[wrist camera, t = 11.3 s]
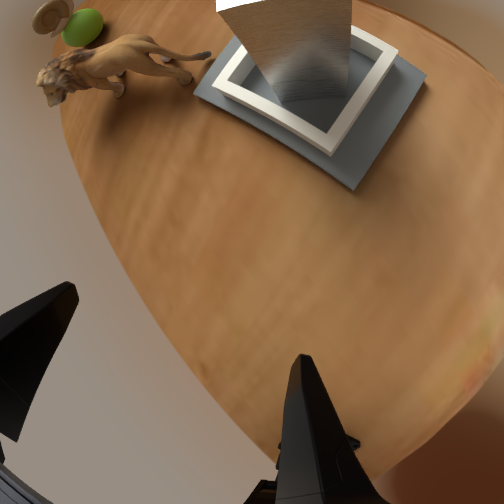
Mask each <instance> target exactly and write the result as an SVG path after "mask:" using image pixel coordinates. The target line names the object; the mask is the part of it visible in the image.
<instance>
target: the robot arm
mask: <svg viewBox="0 0 504 504" xmlns="http://www.w3.org/2000/svg"><path fill="white" fill-rule="evenodd" d="M78 302H79V296H78V293H77V290H76V287H75V285H74V284H73V283H70V282H68V281H66V282H63V283H61V284H59V285H57V286H56V287H53V288H51V289H49V290H47V291H45V292H43V293H42V294H40V295H38V296H36V297H34V298H32V299H30V300H28V301H26V302H24V303H22V304H21V305H19V306H17V307H15V308H13V309H11V310H9V311H8V312H6V313H4V314H2V315H1V316H0V433H2V434H3V435H5V436H6V437H8V438H10V439H11V440H13V441H15V442H17V441H18V439H19V436H20V432H21V430H22V427H23V424H24V421H25V419H26V416H27V413H28V411H29V408H30V406H31V403H32V401H33V398H34V396H35V393H36V391H37V389H38V386H39V384H40V382H41V380H42V378H43V376H44V373H45V371H46V369H47V367H48V365H49V363H50V361H51V359H52V357H53V355H54V353H55V351H56V349H57V347H58V345H59V343H60V342H61V340H62V338H63V336H64V334H65V332H66V330H67V328H68V325H69V323H70V321H71V318H72V316H73V314H74V312H75V310H76V307H77V305H78ZM359 447H360V441H358V440H356V439H354V438H352V437H350V436H348V435H346V433H345V431H344V429H343V427H342V424H341V422H340V420H339V418H338V415H337V413H336V411H335V409H334V406H333V404H332V402H331V400H330V397H329V395H328V393H327V391H326V388H325V386H324V384H323V382H322V379H321V377H320V375H319V373H318V370H317V368H316V366H315V364H314V362H313V359H312V357H311V356H310V355H305V354H299V355H298V357H297V358H296V360H295V362H294V363H293V365H292V367H291V371H290V376H289V382H288V387H287V393H286V398H285V404H284V412H283V427H282V440H281V443H279V445H278V448H279V449H280V450H281V451H280V454H279V457H278V461H277V464H276V469H277V470H279V471H278V474H277V477H276V480H275V481H267V480H261V481H260V482H259V483H258V485H257V486H256V488H255V489H254V491H253V492H252V493H251V494H250V496H249V497H248V499H247V500H246V501H245V502H244V504H390V503H389V502H387V501H386V500H385V499H383V498H382V497H381V496H380V495H379V494H378V492H377V491H376V489H375V488H374V486H373V485H372V483H371V481H370V480H369V478H368V476H367V475H366V473H365V471H364V470H363V468H362V466H361V464H360V463H359V461H358V459H357V457H356V455H355V453H354V450H356V449H358V448H359ZM4 460H5V457H4V453H3V450H2V446H1V442H0V504H53V503H52V502H50V501H49V500H47V499H46V498H44V497H43V496H41V495H40V494H39V493H37V492H36V491H35V490H33V489H32V488H30V487H29V486H28V485H27V484H25V483H24V482H23V481H22V480H20V479H19V478H18V477H17V476H16V475H14V474H13V473H12V472H11V471H9V470H8V469H7V468H6V467H5V466H4V465H3V463H4Z"/></svg>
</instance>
